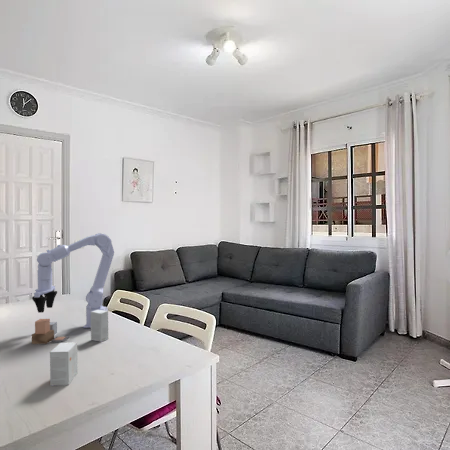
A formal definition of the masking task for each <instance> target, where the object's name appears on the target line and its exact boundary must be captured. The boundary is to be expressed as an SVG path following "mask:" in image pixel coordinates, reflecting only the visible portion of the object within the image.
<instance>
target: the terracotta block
mask: <svg viewBox="0 0 450 450" xmlns="http://www.w3.org/2000/svg"><path fill="white" fill-rule="evenodd" d="M50 322H51V320H50V318H39V319H37V320H36V321H35V322H34V333H35V334H45V333H47V332H48V331H50Z"/></svg>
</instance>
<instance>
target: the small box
mask: <svg viewBox="0 0 450 450" xmlns="http://www.w3.org/2000/svg"><path fill="white" fill-rule="evenodd" d="M78 367H79V366H78V342H72V341H71V342H70V341H69V342H58V344H57V345H56V346H55V347H54V348H53V349H51V351H50V352H49V369H50V370H49V371H50V373H49V374H50V379H49V380H50V382H49V385H50V386H51V387H53V386H56V387H58V386H69V385H70V384H71V382H72V381H73V380H74V378H76V376H77V374H78V370H79V369H78Z"/></svg>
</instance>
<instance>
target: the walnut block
mask: <svg viewBox="0 0 450 450" xmlns="http://www.w3.org/2000/svg"><path fill="white" fill-rule="evenodd" d="M54 338H55V335H54V330H50V331H48V332H47V333H45V334H35V332H34V333H32V334H31V345H47V344H49V343H51V341H52V340H53V339H54Z"/></svg>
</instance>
